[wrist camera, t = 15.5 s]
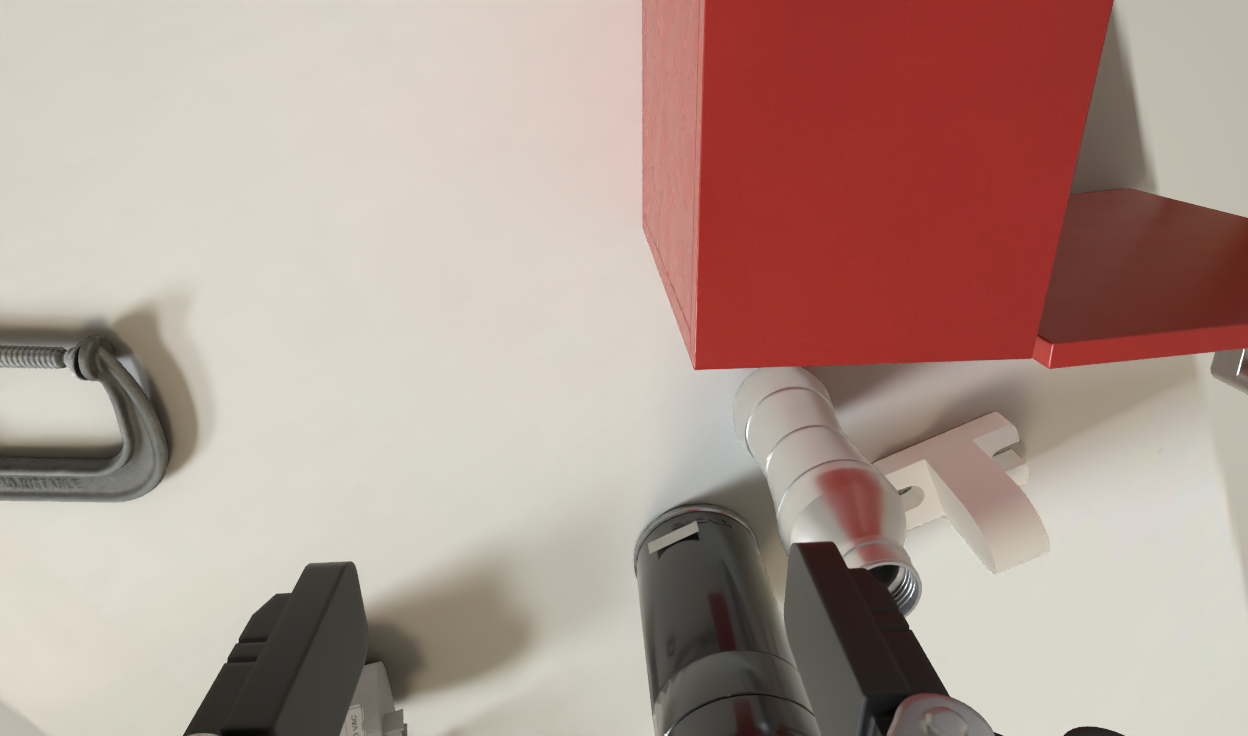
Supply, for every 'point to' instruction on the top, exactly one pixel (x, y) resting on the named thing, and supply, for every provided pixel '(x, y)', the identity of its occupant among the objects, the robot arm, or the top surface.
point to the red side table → (1147, 284)
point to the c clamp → (90, 477)
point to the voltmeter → (373, 706)
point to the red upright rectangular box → (861, 173)
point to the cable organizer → (972, 490)
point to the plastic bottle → (823, 478)
